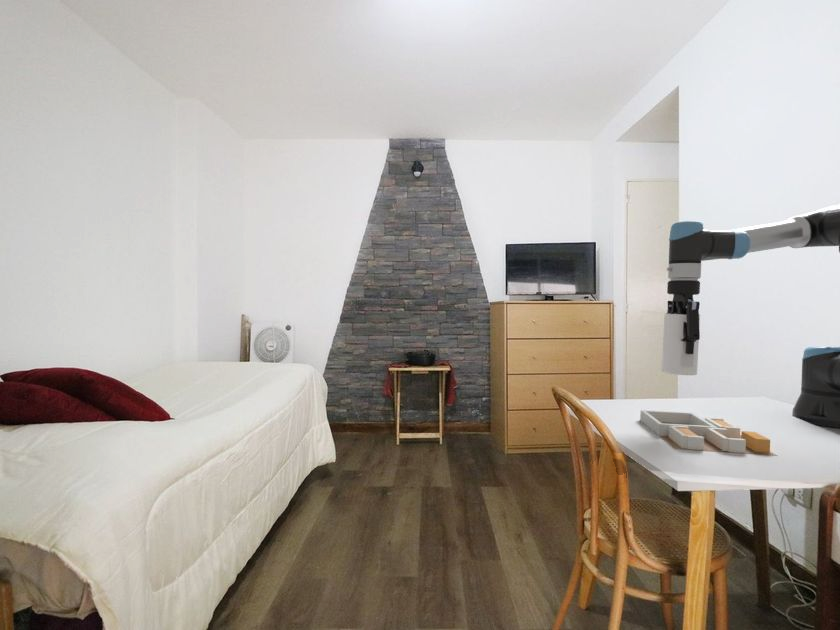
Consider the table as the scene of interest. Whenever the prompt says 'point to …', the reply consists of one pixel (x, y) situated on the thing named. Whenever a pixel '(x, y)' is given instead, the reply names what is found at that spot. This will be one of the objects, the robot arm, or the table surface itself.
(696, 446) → the side clips
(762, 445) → the block
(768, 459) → the table surface
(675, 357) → the cup
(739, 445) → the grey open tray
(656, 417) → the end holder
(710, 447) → the panel
